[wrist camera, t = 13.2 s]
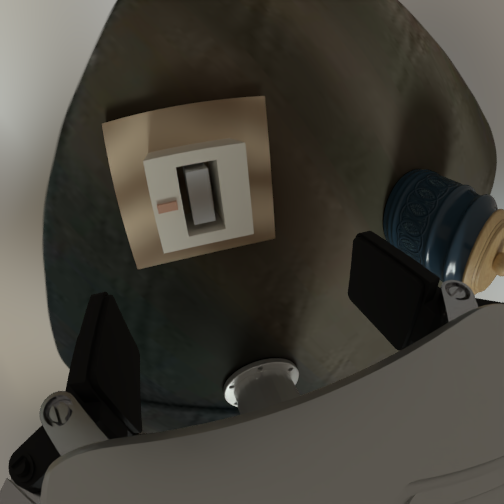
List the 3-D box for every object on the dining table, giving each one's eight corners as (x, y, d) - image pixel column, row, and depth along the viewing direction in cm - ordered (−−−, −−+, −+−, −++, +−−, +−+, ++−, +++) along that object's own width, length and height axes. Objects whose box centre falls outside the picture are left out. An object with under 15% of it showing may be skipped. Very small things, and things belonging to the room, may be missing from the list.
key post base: (270, 232, 29) (293, 259, 24) (138, 261, 26) (135, 296, 21) (259, 96, 22) (285, 92, 17) (105, 123, 19) (87, 125, 14)
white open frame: (238, 212, 26) (255, 235, 21) (163, 228, 24) (164, 255, 20) (229, 137, 22) (246, 143, 18) (148, 152, 21) (142, 161, 16)
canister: (381, 172, 30) (505, 230, 15) (440, 162, 32) (537, 205, 17) (377, 261, 37) (465, 338, 22) (432, 238, 39) (510, 293, 24)
